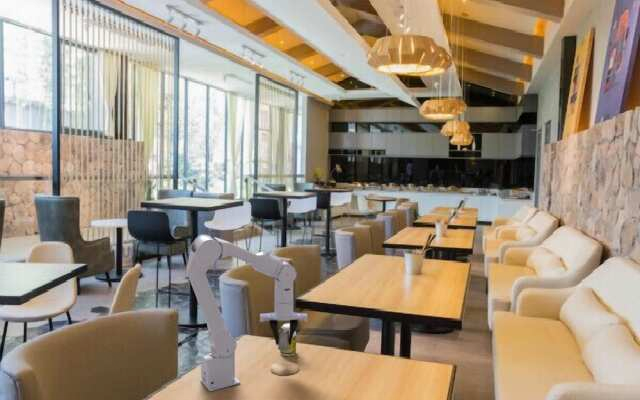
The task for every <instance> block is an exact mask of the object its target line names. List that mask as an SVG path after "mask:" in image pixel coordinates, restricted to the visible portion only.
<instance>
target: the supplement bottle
mask: <svg viewBox="0 0 640 400" xmlns="http://www.w3.org/2000/svg"><path fill="white" fill-rule="evenodd" d="M282 326H284V327H286V328H287V330H289V333H290V322H288V323H284V324H282ZM279 353H280V355H281V356H284V357H291V356H294V355H296V353H297V332H296V331H295V332H294V334H293V337H292V342H291V345H289V350H286V351H280V350H279Z"/></svg>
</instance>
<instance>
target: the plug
mask: <svg viewBox="0 0 640 400" xmlns="http://www.w3.org/2000/svg"><path fill="white" fill-rule="evenodd" d="M277 350H278V351H279V352H280V351H286V350H289V330H287V328H286V327H284V326H283V325H282V326H279V330H278V345H277Z"/></svg>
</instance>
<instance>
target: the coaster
mask: <svg viewBox="0 0 640 400" xmlns="http://www.w3.org/2000/svg"><path fill="white" fill-rule="evenodd" d="M269 370H270V372H271V373H272V374H275V375H278V376H290V375H291V376H292V375H294V374H297V373H298V372H299V370H300V366H299V365H298V364H297V363H295V362H292V361H279V362H275V363H273V364H271V365H270V369H269Z"/></svg>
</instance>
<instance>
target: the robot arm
mask: <svg viewBox="0 0 640 400" xmlns="http://www.w3.org/2000/svg"><path fill="white" fill-rule="evenodd" d="M226 257H232V258H235V259H237V260H240V261H242V262H245V263H249V264H251V266H252V268H253V271H256V272H258V273H262V274H264V275H266V276H268V277H272V278H274V312H268V313H260V314H259V322H260V323H264V322H269V327H270V329H271V331H272V333H273V337H274V340H275V345H277V346H278V331H279V330H278V329H279V322H289V324H290V333H289V345H291V342H292V337H293V334H294V332H296V330H297V327H298V325H299V323H298V322H301V321H302V322H304V323H305V322H308V313H305V312H304V313H303V312H302V313H301V312H295V311H294V281H295V280H296V278H297V274H298V273H297V272H296V268H295V267H294V266H293V265H292V264H290V263H289V262H287V261H285V260H284V259H283V258H280V257H279V258H277V257H275V256H272V255H271V253H270V252H268V251H261V252H257V253H253V252H252V251H249V250H247V249H245V248H243V247H241V246H238V245H236V244H234V243H232V242H230V241H228V240H225V239H222V238H219V237H215V236H214V237H212V236H210V235H209V234H200V235H198V236H197V237H195V239H194V241H193V242H192V243H191V245H190V247H189V256H188V260H187V265H186V274H187V277H188V279H189V282H190V285H191V286H192V289H193V292H194V294H195V297H196V300H197V302H198V304H199V308H200V309H201V310H200V311H201V312H202V316H203V318H204V321H205V322H206V325H207V330H208V342H209V343H210V345H211V347H210V350H209V353H208V354H206V355H205V356H202V357H201V361H200V382H201V384H203V386H205V388H206V389H207V390H208V391H209V392H213V391H216V390H220V389H225V388H228V387H231V386H232V387H233V386H236V385H239V384H241V381H240V380H239V379H238V378H237V377H236V376H235V375H236V372H235V371H236V370H235V367H236V365H235V364H236V363H235V361H236V360H235V358H236V357H235V355H236V352H235V351H236V350H237V345H238V344H237V340H236V339H235V338H234V337H233V336H232V335H231V333H230V331H229V330H228V328H227V326H226V323H225V322H224V318H223V316H222V314H221V311H220V308H219V306H218V303H217V299H216V298H215V295H214V293H213V290H212V287H211V285H210V282H209V279H208V277H207V274H206V273H207V272H208V270H209V269H210V267H211V266H212V265H214V263H215V262H216V261H217V260H218V259H219V258H221V259H224V258H226Z"/></svg>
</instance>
